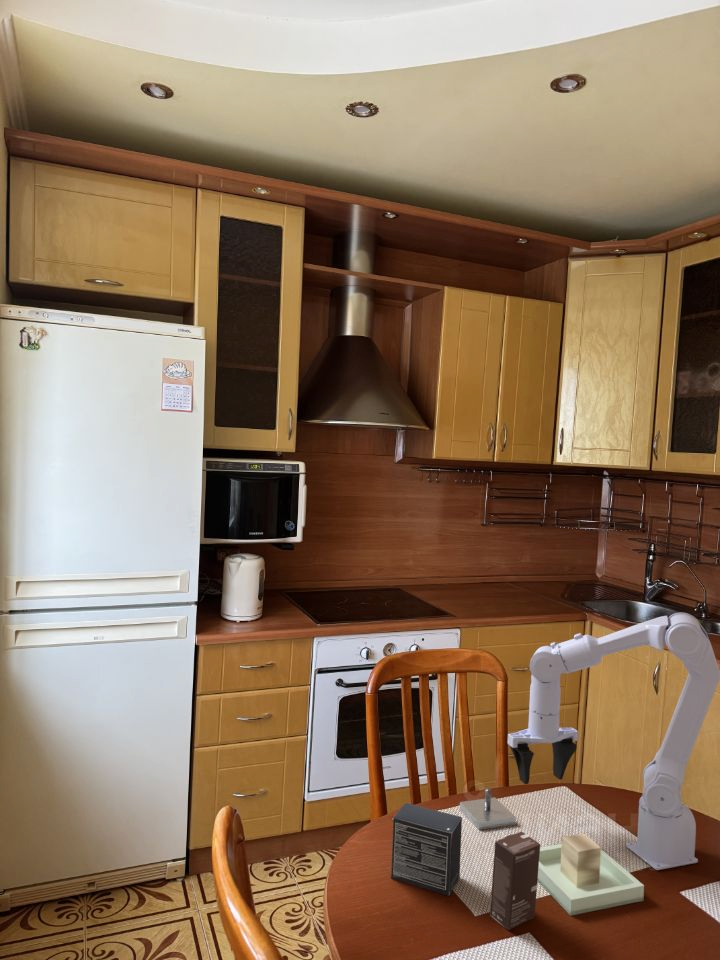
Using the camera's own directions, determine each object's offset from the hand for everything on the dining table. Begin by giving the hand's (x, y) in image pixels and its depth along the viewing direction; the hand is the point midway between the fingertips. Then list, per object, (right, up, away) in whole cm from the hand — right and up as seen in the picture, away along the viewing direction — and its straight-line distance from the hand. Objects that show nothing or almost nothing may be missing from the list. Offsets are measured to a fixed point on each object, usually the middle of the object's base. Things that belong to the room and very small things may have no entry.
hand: (541, 779), depth 132 cm
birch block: (+2, -9, -16) cm, 19 cm away
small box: (-24, -9, -17) cm, 31 cm away
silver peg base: (-10, -9, +3) cm, 14 cm away
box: (-11, -10, -27) cm, 31 cm away
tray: (+2, -10, -17) cm, 20 cm away
